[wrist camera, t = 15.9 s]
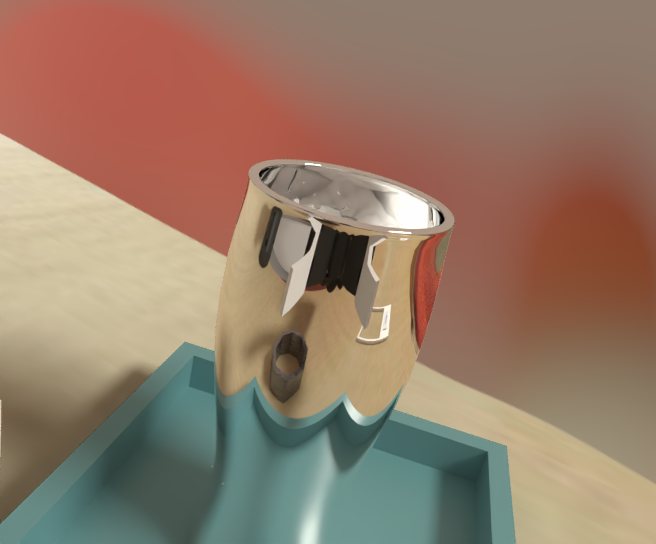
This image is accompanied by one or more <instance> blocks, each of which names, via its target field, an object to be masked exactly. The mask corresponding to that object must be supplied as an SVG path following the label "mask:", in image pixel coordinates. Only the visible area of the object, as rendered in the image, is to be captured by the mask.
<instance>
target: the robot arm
mask: <svg viewBox="0 0 656 544" xmlns="http://www.w3.org/2000/svg"><path fill="white" fill-rule="evenodd" d="M0 455H1V400H0Z"/></svg>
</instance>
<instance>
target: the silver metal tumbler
mask: <svg viewBox="0 0 656 544" xmlns="http://www.w3.org/2000/svg"><path fill="white" fill-rule="evenodd" d="M454 224H455V219H454V216H453V214H452V213H451V212H450V211H449V209H447V208H446V207H445V206H444V205H443V204H441V203H440V202H439V201H437V200H435V199H434V198H432V197H430V196H429V195H427V194H425V193H423V192H420V191H419V190H416V189H414V188H412V187H409V186H407V185H405V184H402V183H399V182H397V181H394V180H391V179H388V178H385V177H382V176H379V175H376V174H372V173H369V172H365V171H361V170H357V169H353V168H349V167H343V166H339V165H334V164H328V163H322V162H315V161H305V160H291V159H286V160H285V159H282V160H281V159H280V160H269V161H264V162H260V163H257V164H255V165H254V166H252V167H251V168H250V170H249V172H248V181H247V185H246V190H245V193H244V197H243V201H242V204H241V208H240V212H239V215H238V219H237V222H236V226H235V230H234V234H233V238H232V241H231V246H230V249H229V254H228V257H227V262H226V267H225V271H224V276H223V281H222V286H221V291H220V298H219V305H218V312H217V320H216V327H215V352H214V391H215V423H216V448H215V456H214V464H213V466H212V467H213V468H212V472H211V476H210V479H209V481H208V484H207V487H206V489H205V491H204V493H203V495H202V498H201V500H200V502H199V504H198V507H197V509H196V511H195V514H194V517H193V520H192V524H191V529H190V544H341V531H342V518H343V511H344V507H345V503H346V499H347V496H348V493H349V491H350V488H351V486H352V483H353V481H354V479H355V478H356V476H357V474H358V472H359V470H360V468H361V466H362V464H363V463H364V461H365V459H366V458H367V456H368V454H369V452H370V451H371V449H372V447H373V446H374V444H375V442H376V440H377V439H378V437H379V435H380V433H381V432H382V430H383V428H384V426H385V424H386V423H387V421H388V419H389V417H390V416H391V414H392V412H393V410H394V408H395V406H396V404H397V402H398V400H399V398H400V396H401V394H402V392H403V390H404V388H405V386H406V384H407V382H408V380H409V378H410V375H411V373H412V370H413V367H414V365H415V362H416V359H417V356H418V354H419V351H420V349H421V345H422V343H423V340H424V337H425V333H426V330H427V327H428V323H429V320H430V317H431V313H432V310H433V306H434V302H435V298H436V294H437V290H438V286H439V282H440V278H441V273H442V269H443V265H444V260H445V256H446V251H447V247H448V243H449V239H450V235H451V232H452V229H453V227H454Z"/></svg>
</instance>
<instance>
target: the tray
mask: <svg viewBox="0 0 656 544" xmlns="http://www.w3.org/2000/svg"><path fill="white" fill-rule="evenodd" d="M214 352H215V351H212V350H209V349H206V348H202V347H199V346H196V345H193V344H190V343H187V342H184V343H183V344H182V345H181V346H180V347H179V348H178V349H177V350H176V351H175V352H174V353H173V354H172V355H171V356H170V357H169V358H168V359H167V360H166V361H165V362H164V363H163V364H162V365H161V366H160V367H159V368H158V369H157V370H156V371H155V372H154V373H153V374H152V375H151V376H150V377H149V378H148V379H147V380H146V381H145V382H144V383H143V384H142V385H141V386H140V387H139V388H138V389H137V390H136V391H135V392H134V393H132V394H131V395H130V396H129V397H128V398H127V399H126V400H125V401H124V402H123V403H122V404H121V405H120V406H119V407H118V408H117V409H116V410H115V411H114V412H113V413H112V414H111V415H110V416H109V417H108V418H107V419H106V420H105V421H104V422H103V423H102V424H101V425H100V426H99V427H98V428H97V429H96V430H95V431H94V432H93V433H92V434H91V435H90V436H89V437H88V438H87V439H86V440H85V441H84V442H83V443H82V444H81V445H80V446H79V447H78V448H77V449H76V450H75V451H74V452H73V453H72V454H71V455H70V456H69V457H68V458H67V459H66V460H65V461H64V462H63V463H62V464H61V465H60V466H59V467H58V468H56V469H55V470H54V471H53V472H52V473H51V474H50V475H49V476H48V477H47V478H46V479H45V480H44V481H43V482H42V483H41V484H40V485H39V486H38V487H37V488H36V489H35V490H34V491H33V492H32V493H31V494H30V495H29V496H28V497H27V498H26V499H25V500H24V501H23V502H22V503H21V504H20V505H19V506H18V507H17V508H16V509H15V510H14V511H13V512H12V513H11V514H10V515H9V516H8V517H7V518H6V519H5V520H4V521H3V522H2V523H1V524H0V544H190V529H191V524H192V520H193V517H194V514H195V511H196V509H197V507H198V504H199V502H200V500H201V498H202V495H203V493H204V491H205V489H206V487H207V484H208V481H209V479H210V476H211V472H212V468H213V467H212V466H213V464H214V456H215V448H216V423H215V391H214ZM341 544H516V540H515V529H514V518H513V508H512V497H511V487H510V476H509V465H508V455H507V446H505V445H502V444H499V443H496V442H493V441H490V440H486V439H483V438H480V437H477V436H474V435H471V434H468V433H465V432H462V431H459V430H456V429H452V428H449V427H446V426H443V425H440V424H437V423H434V422H431V421H428V420H425V419H422V418H419V417H415V416H412V415H409V414H406V413H403V412H400V411H397V410H393V412H392V414H391V416H390V417H389V419H388V421H387V423H386V424H385V426H384V428H383V430H382V432H381V433H380V435H379V437H378V439H377V440H376V442H375V444H374V446H373V447H372V449H371V451H370V452H369V454H368V456H367V458H366V459H365V461H364V463H363V464H362V466H361V468H360V470H359V472H358V474H357V476H356V478H355V479H354V481H353V483H352V486H351V488H350V491H349V493H348V496H347V499H346V503H345V507H344V511H343V518H342V531H341Z"/></svg>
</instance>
